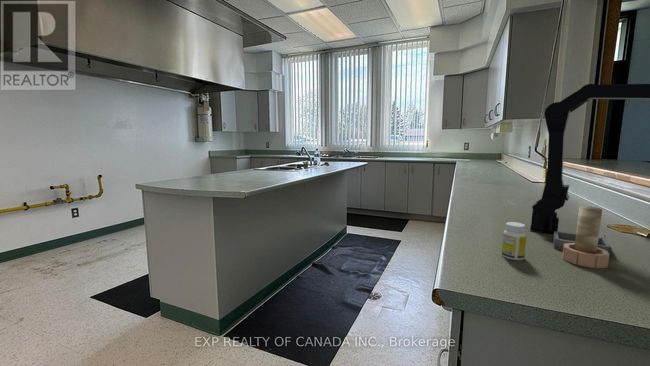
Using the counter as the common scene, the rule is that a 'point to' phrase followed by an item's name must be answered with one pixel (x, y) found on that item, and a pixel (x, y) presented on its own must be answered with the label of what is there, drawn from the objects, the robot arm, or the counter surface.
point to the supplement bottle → (514, 241)
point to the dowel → (588, 229)
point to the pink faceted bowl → (585, 257)
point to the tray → (564, 238)
